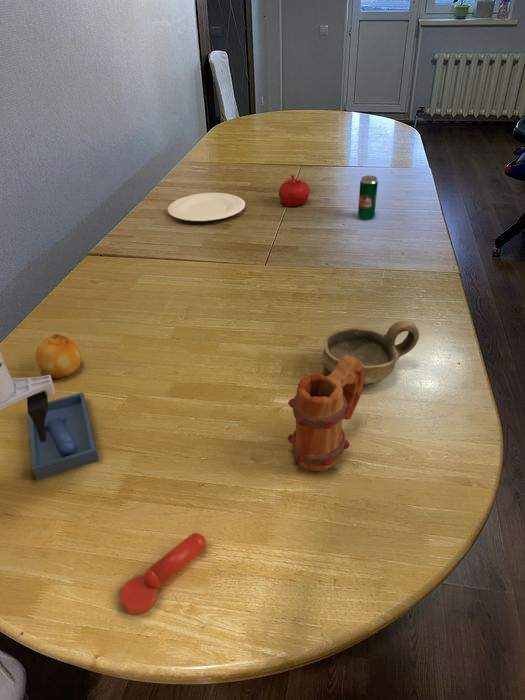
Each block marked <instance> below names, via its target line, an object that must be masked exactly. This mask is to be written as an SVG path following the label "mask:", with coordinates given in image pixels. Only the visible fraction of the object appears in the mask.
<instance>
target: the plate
mask: <svg viewBox="0 0 525 700" xmlns="http://www.w3.org/2000/svg"><path fill="white" fill-rule="evenodd" d="M245 208H246V201H245V200H244V199H242V198H241V197H240V196H237V195H234V194H231V193H225V192H201V193H196V194H189V195H186V196H182V197H180V198H178V199H175V200H174V201H172V202H171V203H170V204H168V206H167V213H168V214H169V215H170V216H171V217H173V218H174V219H177V220H181V221H186V222H194V223H195V222H198V223H200V222H204V223H205V222H215V221H219V220H224V219H228V218H231V217H234V216H236V215H238V214H240V213H241V212H242V211H244V210H245Z"/></svg>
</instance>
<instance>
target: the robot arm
mask: <svg viewBox="0 0 525 700" xmlns="http://www.w3.org/2000/svg"><path fill="white" fill-rule="evenodd" d="M53 395H56V389H55V384H54V382H53V377H51V375H41V376H33V377H32V376H31V377H16V378H15V377H13V378H12V376H11V373H10V371H9V369H8V366H7V364H6V361H5V359H4V356H3V354H2V352H1V351H0V412H1V411H4V410H5V409H7V408H9V407H11V406H14V405H15V404H18V403H20V402H22V401H23V400H26V405H27V414H28V413H29V415H30V417H31V418H32V420H33V422H34V424H35V426H36V429H37V432H38V436H39V439H40V441H41V442H45V441H46V432H45V418H46V414H47V411H48V401H49V398H48V397H49V396H53Z"/></svg>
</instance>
